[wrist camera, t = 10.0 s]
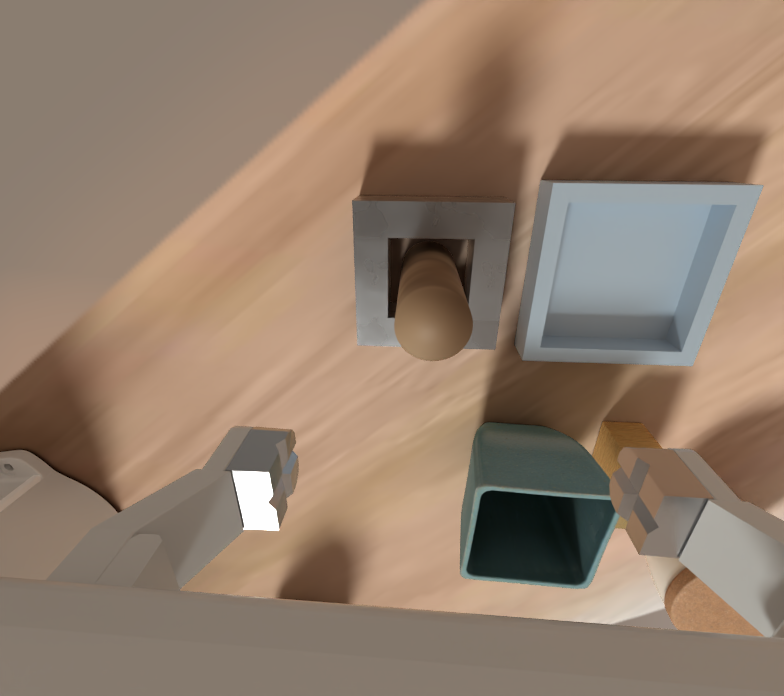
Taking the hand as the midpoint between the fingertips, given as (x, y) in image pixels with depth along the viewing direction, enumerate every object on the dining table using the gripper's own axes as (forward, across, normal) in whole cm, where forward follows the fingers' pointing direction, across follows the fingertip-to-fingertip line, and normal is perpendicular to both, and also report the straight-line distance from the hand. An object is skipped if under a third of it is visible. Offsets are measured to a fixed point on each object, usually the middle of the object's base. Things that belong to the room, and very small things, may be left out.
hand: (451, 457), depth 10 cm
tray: (+19, -12, 0) cm, 22 cm away
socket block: (+18, 0, 0) cm, 19 cm away
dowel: (+18, 0, 0) cm, 19 cm away
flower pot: (+19, -7, +15) cm, 25 cm away
